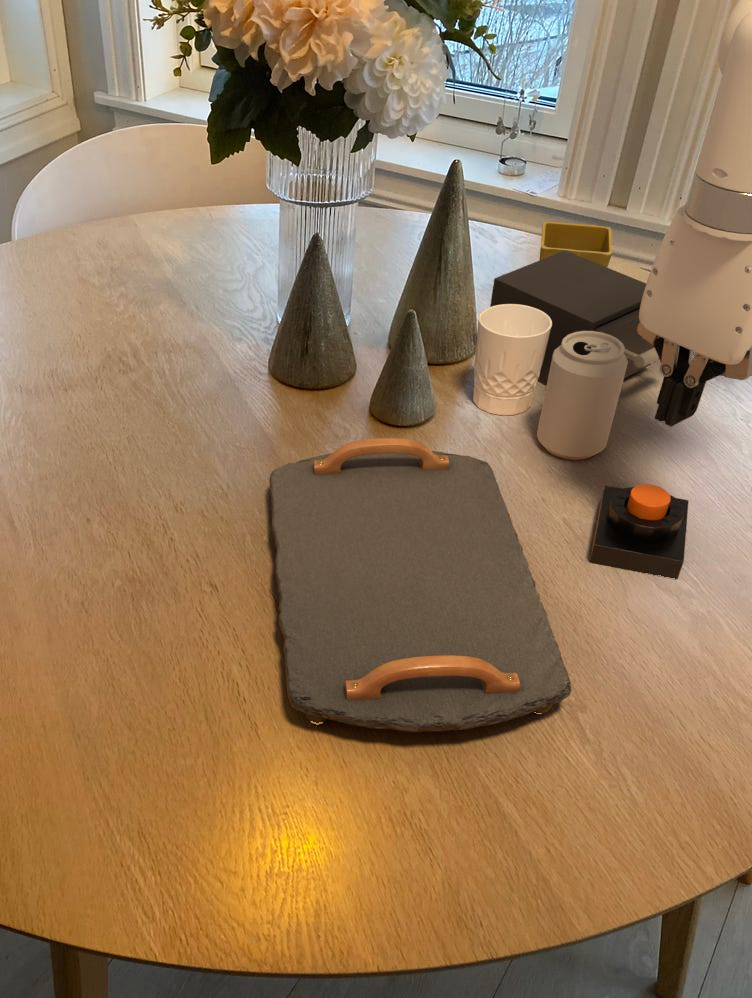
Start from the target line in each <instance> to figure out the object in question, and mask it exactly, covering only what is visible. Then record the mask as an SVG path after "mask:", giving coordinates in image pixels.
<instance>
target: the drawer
mask: <svg viewBox="0 0 752 998" xmlns="http://www.w3.org/2000/svg"><path fill="white" fill-rule="evenodd" d="M639 311H640V307H639V308H637V309H635V310H633V311H631V312H628V313H626V314H624V315H622V316H620V317H618V318H615V319H613V320H611V321H609V322H607V323H604V324H602V325H600V326H598V327H596V329H595V331H596V332H602V333H605V334H609V335H611V336H613V337H615V338H617V339H618V340H620V341H621V342H622V343H623V345H624V347H625V351H624V355H625V356H626V358H627V361H628V364H627V368H626V372H625V376H624V379H626V378H627V377H629V376H631V375H634V374H635V373H637V372H639V371H641V370H643V369H646V368H647V367H649V366H651V364H653V363H654V362H656V361H658V360H660V359H659V357H658V354H657V352H656V350H655V347H654V345H653V344H650V343H649V342H648V341H646V340H645V339H644V338H643V337H641V336H640V335H639V334H638V333H637V327H638V325H639V323H640V320H639Z"/></svg>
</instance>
